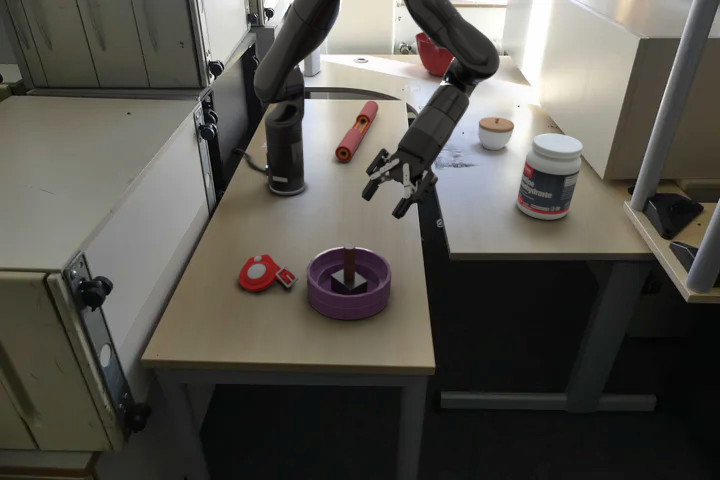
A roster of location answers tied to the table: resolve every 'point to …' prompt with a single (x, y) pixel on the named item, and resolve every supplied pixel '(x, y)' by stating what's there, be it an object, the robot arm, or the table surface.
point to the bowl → (348, 305)
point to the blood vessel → (356, 132)
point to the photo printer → (312, 63)
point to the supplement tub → (550, 176)
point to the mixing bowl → (433, 55)
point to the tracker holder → (264, 274)
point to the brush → (348, 275)
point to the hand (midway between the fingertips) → (379, 208)
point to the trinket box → (495, 132)
